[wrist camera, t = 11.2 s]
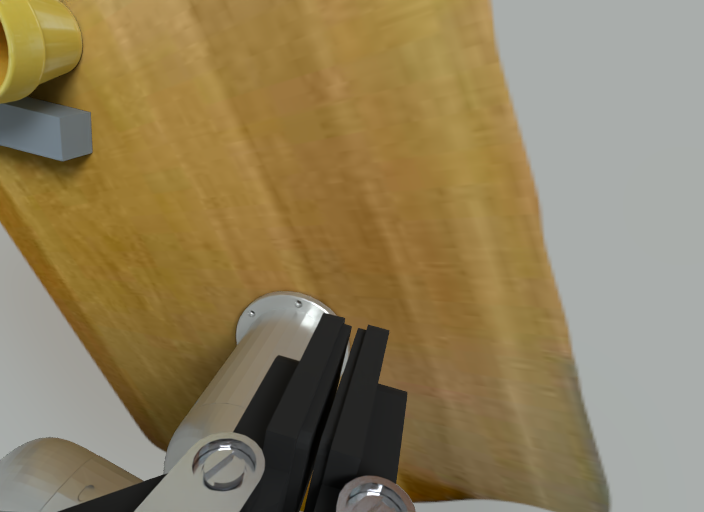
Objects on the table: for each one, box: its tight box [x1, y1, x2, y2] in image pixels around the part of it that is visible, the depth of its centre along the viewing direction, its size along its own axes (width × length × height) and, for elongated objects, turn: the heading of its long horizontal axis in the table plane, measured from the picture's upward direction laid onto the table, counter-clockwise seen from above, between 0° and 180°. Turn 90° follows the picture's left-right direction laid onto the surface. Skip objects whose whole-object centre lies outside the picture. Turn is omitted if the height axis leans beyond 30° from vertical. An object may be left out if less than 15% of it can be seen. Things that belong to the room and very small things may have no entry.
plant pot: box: [0, 0, 82, 104], centre depth 39 cm, size 10×10×10 cm
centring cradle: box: [0, 96, 92, 161], centre depth 41 cm, size 21×12×4 cm, turn 169°
